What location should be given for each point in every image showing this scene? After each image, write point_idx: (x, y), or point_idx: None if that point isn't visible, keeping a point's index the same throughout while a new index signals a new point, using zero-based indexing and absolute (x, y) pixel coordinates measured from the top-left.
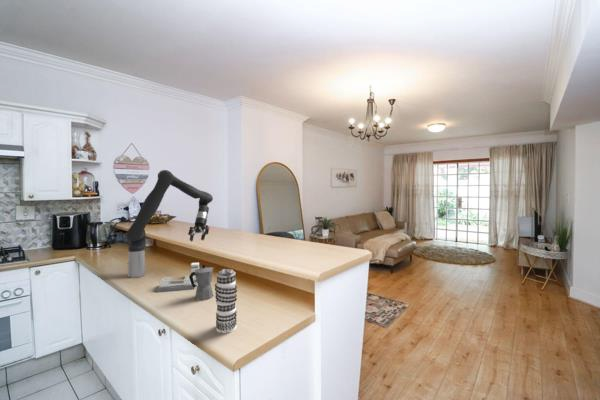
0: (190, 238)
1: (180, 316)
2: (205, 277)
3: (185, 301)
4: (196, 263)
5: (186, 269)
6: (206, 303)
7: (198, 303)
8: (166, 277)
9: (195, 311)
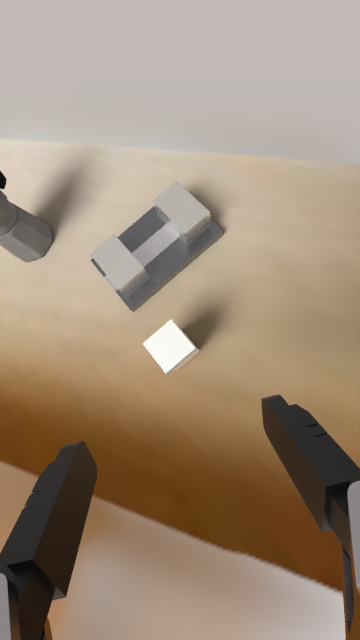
0: (289, 415)
1: (19, 156)
2: None
3: (58, 200)
4: (163, 350)
5: None
6: None
7: None
8: (197, 219)
9: None
